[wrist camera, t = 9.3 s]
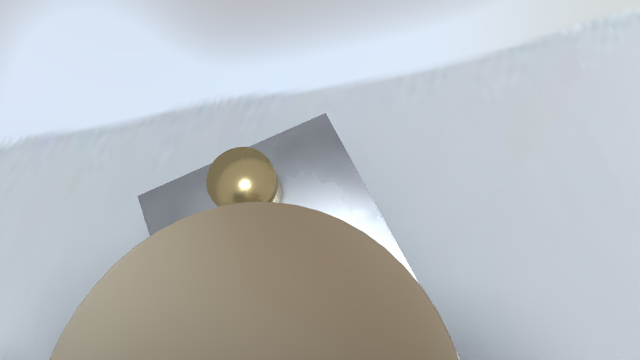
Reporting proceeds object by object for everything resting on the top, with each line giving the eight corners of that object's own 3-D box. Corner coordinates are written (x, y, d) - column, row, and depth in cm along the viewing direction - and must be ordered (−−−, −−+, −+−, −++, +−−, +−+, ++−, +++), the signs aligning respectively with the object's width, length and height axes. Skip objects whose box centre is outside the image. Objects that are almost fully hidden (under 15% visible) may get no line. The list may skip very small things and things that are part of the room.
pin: (287, 405, 14) (76, 893, 2) (246, 301, 15) (-7, 305, 4) (383, 353, 14) (576, 560, 3) (335, 256, 16) (344, 144, 4)
